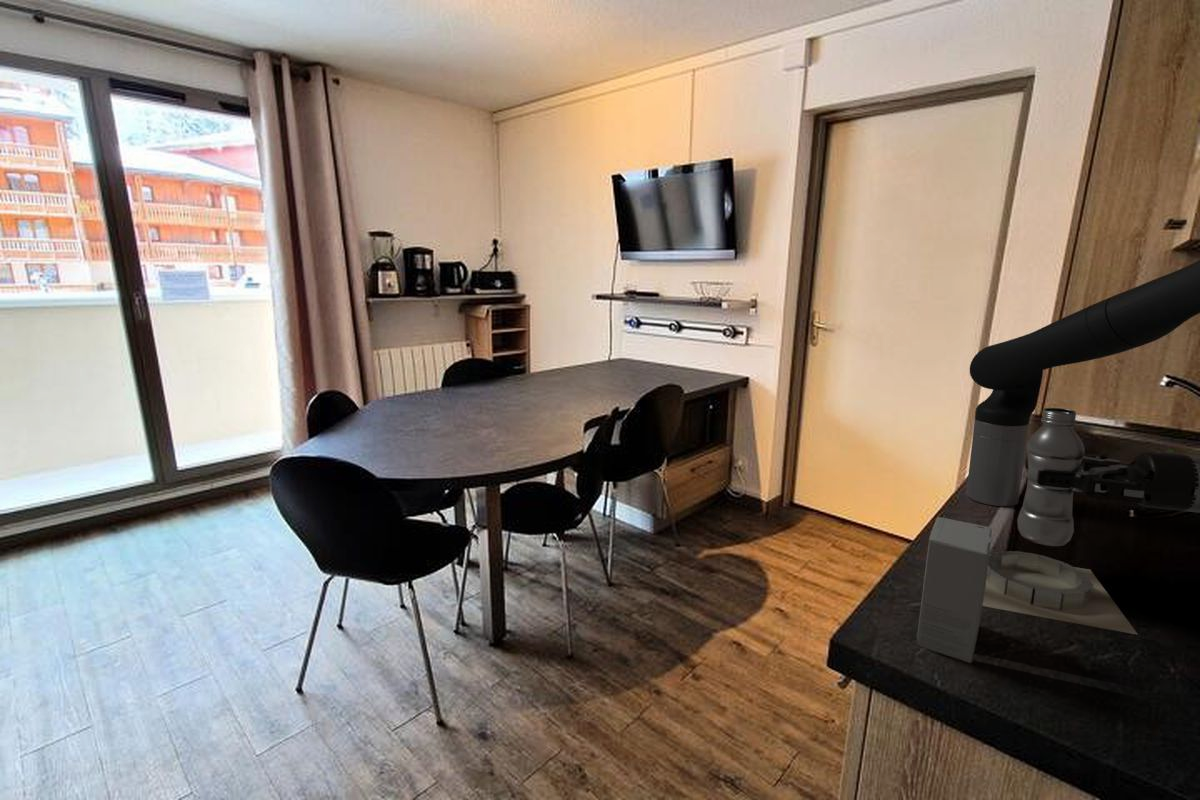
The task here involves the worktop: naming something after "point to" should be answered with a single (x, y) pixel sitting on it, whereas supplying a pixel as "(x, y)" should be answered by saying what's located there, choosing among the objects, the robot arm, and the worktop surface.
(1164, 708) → the worktop surface
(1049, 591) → the steel collar
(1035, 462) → the plastic bottle
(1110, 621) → the birch board
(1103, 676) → the worktop surface
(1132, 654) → the worktop surface
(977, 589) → the skincare box
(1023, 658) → the worktop surface
